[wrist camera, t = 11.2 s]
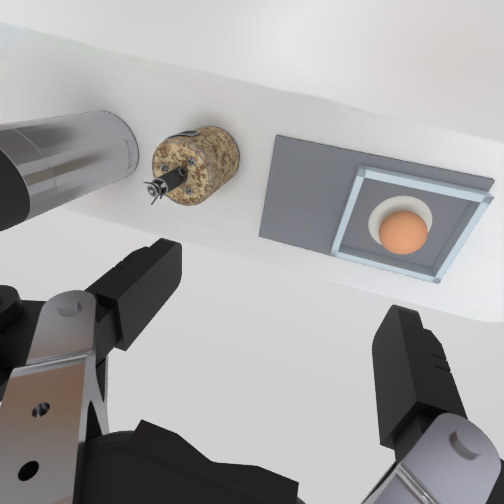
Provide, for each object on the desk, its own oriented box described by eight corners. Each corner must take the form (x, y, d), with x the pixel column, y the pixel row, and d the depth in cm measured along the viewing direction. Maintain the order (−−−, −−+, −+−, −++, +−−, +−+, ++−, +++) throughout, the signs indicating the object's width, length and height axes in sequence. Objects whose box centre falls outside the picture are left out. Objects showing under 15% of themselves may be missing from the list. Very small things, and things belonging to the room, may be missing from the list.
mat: (259, 234, 42) (258, 236, 42) (276, 135, 35) (275, 135, 34) (430, 279, 38) (431, 282, 38) (492, 179, 31) (495, 180, 30)
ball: (386, 200, 34) (391, 216, 30) (430, 209, 33) (441, 228, 29) (370, 235, 37) (373, 255, 33) (411, 245, 36) (419, 267, 32)
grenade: (249, 171, 38) (200, 215, 26) (205, 189, 41) (143, 237, 29) (223, 113, 35) (155, 133, 23) (178, 138, 38) (98, 167, 26)
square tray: (330, 247, 40) (329, 255, 38) (359, 164, 33) (359, 168, 32) (434, 275, 37) (438, 284, 36) (486, 190, 31) (494, 197, 29)
